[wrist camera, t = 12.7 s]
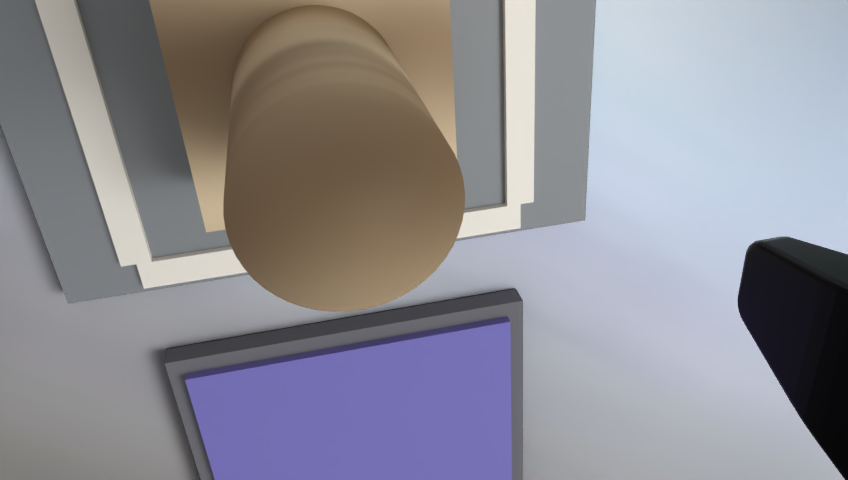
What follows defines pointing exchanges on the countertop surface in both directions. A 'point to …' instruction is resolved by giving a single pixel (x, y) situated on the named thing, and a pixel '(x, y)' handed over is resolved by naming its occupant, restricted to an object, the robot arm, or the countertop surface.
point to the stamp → (320, 139)
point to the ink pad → (361, 396)
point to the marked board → (167, 158)
